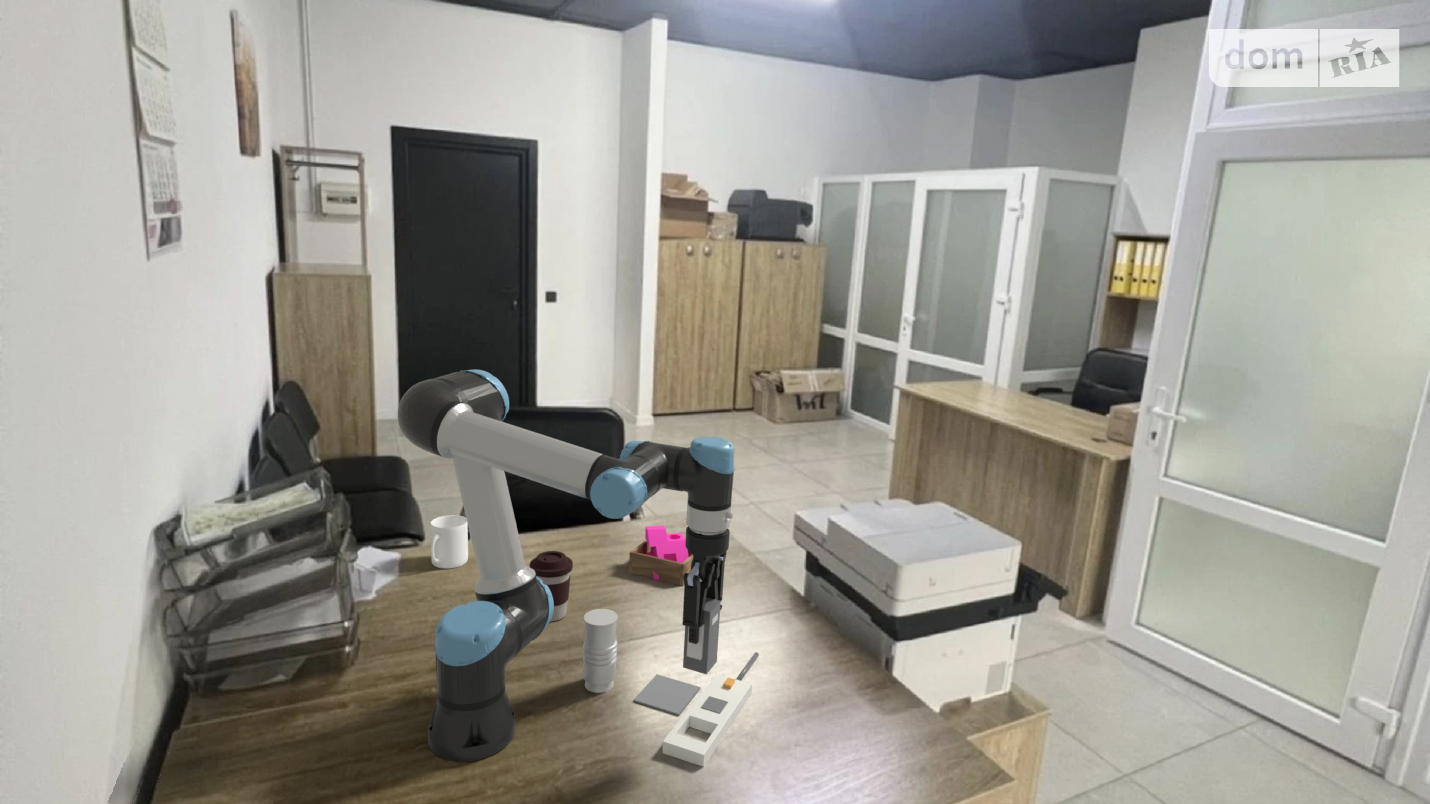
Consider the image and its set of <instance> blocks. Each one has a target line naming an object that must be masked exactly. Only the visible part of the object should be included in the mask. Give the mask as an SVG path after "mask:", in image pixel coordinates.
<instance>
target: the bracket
mask: <svg viewBox="0 0 1430 804" xmlns="http://www.w3.org/2000/svg"><path fill="white" fill-rule="evenodd" d="M644 529H645V530H644V531H645V533H644V539H645V541H647V542H648V544H649V546H650V547H651V552H647V553H646V555H650V556H654V557H659V558H663V559H667V560H672V561H676V562H680V563H683V562H684V561H685V560H686V559H688V558H689V556H688V550H687V548H686V546H685V541H686V537H684V534H682V532H675V533H674V532H672V533H670V532H669V533H667V528H666V527H665V525H663V524H662V525H649V526H648V525H647V526H645V528H644ZM658 579H659V576H658V575H657V574H656V573H655V572H654V571H653V579H652V580H653V581H659V580H658Z"/></svg>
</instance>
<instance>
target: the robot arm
mask: <svg viewBox="0 0 1430 804" xmlns="http://www.w3.org/2000/svg"><path fill="white" fill-rule="evenodd" d="M509 410H510V397H509V394H508V392H507V390H506V388H505V386H504V385H503V383H502V382H501V381H500V380H499V379H498V378H497V377H496V376H494V375H493V374H491V373H490V372H488V371H486V370H482V369H468V370H459V371H456V372H455V371H454V372H451V373H449V374H444V375H440V376H438V377H434V378H430V379H426V380H423V381H420V382H417V383H415V384H413V385H412V386H411V387H410V388H409V389H407V390H406V392H404V394H403V396H402V397H401V399H400V401H399V403H398V406H397V421H398V425H399V427H400V430H401V432H402V434H403V436H404V437H405V438H406V439H407V440H408V441H409V442H410V443H412V444H413V445H414V446H416V447H418V448H419V449H421V450H423V451H425V452H427V453H430V454H433V455H436V456H439V457H441V458H445V459H452V463H453V467H454V471H455V472H454V473H455V476H456V480H457V485H458V489H459V493H460V497H461V502H462V506H463V510H464V515H465V518H466V519H467V525H468V533H469V535H470V540H471V543H472V548H473V552H474V556H475V561H476V566H477V569H478V574H479V579H478V581H477V582H476V583H475V585H474V587H473V588H474V593H475V598H476V600H474V601H469V602H466V604H459V605H457V606H454V607H453V608H451V609H449V610H448V611H447V612H446V613H444V614H443V616H442V617H441V618H440V619H439V621H438V623H437V626H436V629H435V638H434V645H433V646H434V653H435V670H436V671H435V672H436V694H437V695H436V697H437V698H436V702H435V705H434V708H433V712H432V714H431V718H430V721H429V722H428V727H427V744H428V748H429V749H430V751H432V752H433V754H435V755H436V756H437V757H439V758H441V759H444V760H447V761H452V762H473V761H478V760H482V759H485V758H489V757H491V756H493V755H495V754H496V753H499V752H500V751H502V750H503V749H504V748H505V747H507V746H509V744H510V743H511V741H512V740H513V738H514V737H515V734H516V726H517V725H516V714H515V712H514V710H513V708H512V706H511V702H510V699H509V697H508V694H507V691H506V666H507V665H508V664H509V662H511V661H512V660H513V659H514V658H515V657H517V655H518V654H519V653H521V651H523V649H525V648H526V646H528V645H529V644H531V642H532V641H535V640H536V639H537V638H538V637H540V635H541V634H543V632H544V630H545V629H546V628H547V626H549V623H551V622H550V620H551V618H552V615H553V610H554V602H553V597H552V594H551V591H550V589H549V588H548V586H547V585H544V584H543V583H542V582H543V581H542V580H541V579H540V578H538V577H536V573H535V570H533V569H531V568H530V566H529V565H527V564H526V562H525V557H524V554H523V548H522V544H521V541H520V536H519V532H518V531H519V530H518V528H517V527H518V526H517V522H516V517H515V513H514V508H513V504H512V500H511V496H510V495H511V494H510V491H509V486H508V481H507V476H506V473H510V474H512V475H516V476H518V477H522V478H525V479H527V480H530V481H533V482H536V483H539V484H541V485H545V486H548V487H551V488H554V489H557V490H560V491H563V492H566V493H569V494H572V495H575V496H578V497H580V498H584V499H587V500H589V501H591V504H592V506H593V507H594V508H595V510H597V511H598V512H599V513H600V515H602V516H603V517H605V518H608V519H613V520H614V519H615V520H616V519H617V520H618V519H622V518H625V517H626V516H628V515H630V514H632V513H634V512H636V511H637V510H639V509H640V508H642V506H643V505H644V504H645V503H646V502H647V501H648V500H649V499H651V498H652V497H653V496H654V495H656V494H657V493H658V492H660V491H661V490H663V489H664V490H670V491H676V492H677V491H678V492H686V493H687V503H686V506H687V507H686V519H685V520H686V521H685V523H686V526H687V527H686V529H685V539H686V541H685V546H686V548H687V550H688V551H690V552H691V553H692V554H693V560H692V562H691V570H692V571H691V572H690V574H689V573H685V574H684V576H683V580H684V585H683V586H684V587H683V588H684V589H683V606H682V607H683V608H682V610H683V611H682V626H684V627H685V626H688V642H687V656H688V657H691V658H695V659H698V660H701V659H702V657H703V641H704V624H702V621H703V615H704V608H705V601H706V597H707V598H711V599H715V600H719V601H721V602H722V601H723V592H724V579H725V578H724V577H725V565H726V564H725V563H726V559H727V551H729V548H730V547H729V546H730V529H729V528H730V525H731V519H733V518H734V514H733V513H732V512H731V511H732V501H733V500H732V496H733V488H734V487H733V483H734V474H735V473H734V472H735V468H736V467H735V447H734V444H733V443H732V442H731V441H729V440H728V439H725V438H722V437H718V436H700V437H695V438H694V439H692V441H691V442H690V446H689V447H685V446H678V445H671V444H665V443H659V442H653V441H649V440H630V441H628V442H626V444H625V445H624V447H623V449H622V450H621V452H620V455H619V458H616V457H612V456H609V455H606V454H603V453H600V452H597V451H595V450H591V449H589V448H585V447H582V446H579V445H576V444H572V443H569V442H566V441H563V440H560V439H557V438H554V437H551V436H547V435H544V434H542V433H538V432H536V431H531V430H529V429H525V428H523V427H520V426H517V425H513V424H511V423H507V422H504V420H505V419H506V416H507V413H509ZM505 472H506V473H505ZM722 608H723V604H721V605H720V611H722Z"/></svg>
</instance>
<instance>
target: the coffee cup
mask: <svg viewBox="0 0 1430 804" xmlns="http://www.w3.org/2000/svg"><path fill="white" fill-rule="evenodd" d="M573 563H574V562H573V560H572V558H570V557H568V556H567V555H566V554H565V553H564V552H561V551H558V550H548V551H543V552H540V553H538V554H537V556H535V557H534V558H533V559H531V560H530V562H529V567H530V568H531V569H533V570H535V573H536V577H538V578H540V579H541V580H542V581H543V582H542V583H543V584H544V585H547V586H548V588H549V589H550V591H551V594H552V597H553V602H554V610H553V615H552V618H551V620H550V622H549V623H551V622H556V621H559V620H562V619H564V617H566V615H567V611H568V600H569V598H570V586H571V574H570V573H571V572H572V570H573V565H574V564H573Z"/></svg>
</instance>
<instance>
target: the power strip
mask: <svg viewBox="0 0 1430 804" xmlns="http://www.w3.org/2000/svg"><path fill="white" fill-rule="evenodd" d="M759 656H760V654H759V652H757V651H755V652H754V653H753V655H752V656H751V657H750V659H749V660H748V661H747V663H746V665H745V666H744V667H743V668H742V670H741V671H740V673H739V674H738V675H737V677H736V678H733V677H729V676H726V675H723V674H720V673H719V674H718V673H715V674H714V675H713V676H712V678H711V679H710V680H709V682H708V683H707V684H706V686H705V687H704V688H703V690H702V691H700V693H699V694H698V695H697V697H696V698H695V700H694V701H693V702H692V704H691V705H690V706H689V708H688V709H686V711H685V712H684V714H683V715H682V717H681V718H680V719H679V720H678V721H677V723H676V724H675V725H674V727H672V729H671V731H670V732H669V733H668V735H667V736H666V737H665V738H664V739H663V741H662V754H664V755H666V756H667V755H668V756H670V757H672V758H674V759H675V758H676V759H679V760H682V761H685V762H687V763H691V764H693V765H697V766H699V767H701V768H702V767H703V768H704V767H705V765H706V764H707V762H708V761H709V759H710V758H711V756H712V755H713V753H714V752H715V751H716V749H717V748H718V746H719V744H721V741H722V740H723V738H724V737H725V736H726V734H727V732H728V731H729V729H730V728H731V727H732V725H733V723H734V722H735V720H736V719H737V717H738V716H739V714H740V713H741V711H742V710H741V709H743V708H744V706H745V705H746V704H747V701H748V700H749V698H750V697H751V696H752V691H753V683H750V682H747V681H743V680H742V679H743V678H744V677H745V675H746V674H747V672H748V671H749V670H750V668H751V667H752V665H754V662H756V660H757V659H758V657H759ZM739 712H740V713H739ZM737 715H738V716H737ZM689 728H692V729H695V730H699V731H702V732H705V733H708V734H710V735H709V737H708V739H706V741H705V742H704V741H702V740H699V739H696V738H692V737H689V736H687V735H684V734H685V733H686V732H687V730H688V729H689Z"/></svg>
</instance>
